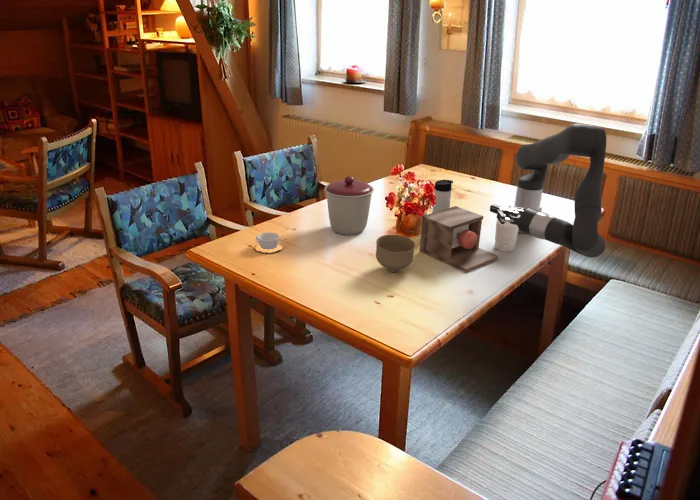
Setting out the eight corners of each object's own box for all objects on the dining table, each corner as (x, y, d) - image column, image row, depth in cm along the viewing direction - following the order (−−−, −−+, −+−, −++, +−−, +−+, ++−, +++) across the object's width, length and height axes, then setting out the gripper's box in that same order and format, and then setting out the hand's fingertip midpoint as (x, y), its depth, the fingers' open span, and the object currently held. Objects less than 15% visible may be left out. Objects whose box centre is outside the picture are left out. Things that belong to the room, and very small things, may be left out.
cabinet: (498, 259, 198) (503, 223, 193) (466, 272, 188) (470, 235, 183) (452, 240, 213) (455, 206, 207) (419, 251, 203) (422, 216, 198)
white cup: (516, 245, 210) (520, 219, 205) (514, 253, 203) (518, 227, 199) (494, 242, 212) (497, 216, 208) (491, 250, 205) (495, 224, 201)
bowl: (387, 281, 181) (389, 252, 177) (367, 265, 191) (368, 237, 187) (421, 274, 187) (423, 245, 183) (400, 259, 197) (401, 231, 193)
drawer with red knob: (479, 248, 199) (482, 226, 196) (460, 255, 193) (462, 233, 190) (451, 236, 208) (453, 215, 204) (432, 243, 202) (434, 222, 199)
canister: (316, 234, 215) (316, 179, 207) (335, 218, 231) (336, 167, 222) (361, 242, 209) (363, 186, 201) (378, 225, 224) (381, 173, 216)
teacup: (288, 246, 205) (288, 234, 203) (273, 256, 197) (272, 244, 195) (264, 241, 209) (264, 229, 207) (248, 251, 201) (247, 238, 199)
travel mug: (447, 234, 217) (452, 183, 209) (430, 233, 218) (434, 182, 210) (448, 228, 223) (453, 178, 215) (431, 227, 224) (435, 177, 216)
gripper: (552, 207, 175) (505, 192, 187) (526, 217, 167) (479, 200, 179) (548, 230, 178) (502, 214, 190) (522, 241, 170) (476, 223, 182)
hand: (491, 207), depth 184 cm, fingers closed
